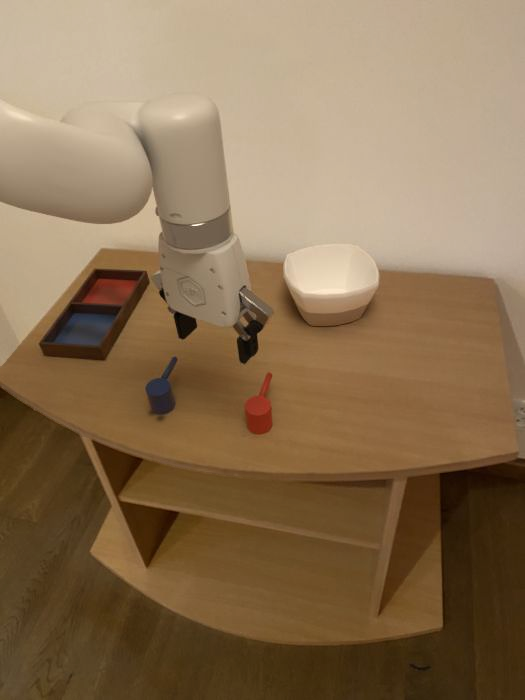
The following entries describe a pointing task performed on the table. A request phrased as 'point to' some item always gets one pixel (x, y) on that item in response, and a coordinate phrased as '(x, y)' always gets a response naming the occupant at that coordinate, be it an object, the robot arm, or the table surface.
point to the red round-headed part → (259, 410)
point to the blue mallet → (161, 391)
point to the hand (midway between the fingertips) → (217, 344)
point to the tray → (95, 315)
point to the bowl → (331, 282)
